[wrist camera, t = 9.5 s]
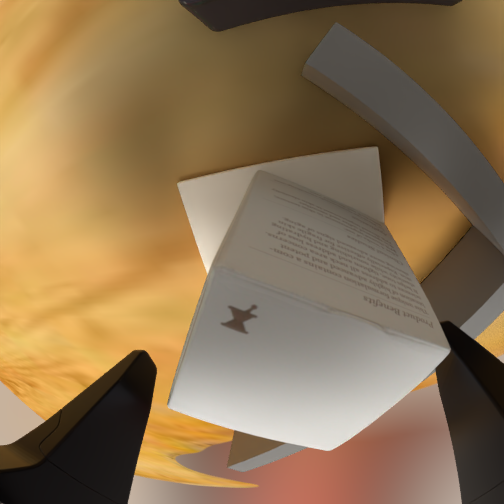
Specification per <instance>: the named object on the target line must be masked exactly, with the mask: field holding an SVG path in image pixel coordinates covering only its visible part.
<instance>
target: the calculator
mask: <svg viewBox="0 0 504 504" xmlns="http://www.w3.org/2000/svg"><path fill="white" fill-rule="evenodd" d="M460 1H462V0H179V2H180V4H181V5H182V6H183V7H185V8H186V9H187V10H188V11H190V12H191V13H192V14H193V15H194V16H196V17H197V18H198V19H199V20H200V21H201V22H203V23H204V24H205V25H206V26H207V27H209V28H210V29H211V30H213V31H217V32H219V31H224V30H227V29H230V28H234V27H237V26H240V25H244V24H247V23H251V22H255V21H259V20H262V19H267V18H271V17H275V16H280V15H284V14H289V13H294V12H300V11H305V10H311V9H318V8H325V7H333V6H342V5H353V4H368V3H421V4H436V5H446V6H453V5H455V4H457V3H458V2H460Z"/></svg>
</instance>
